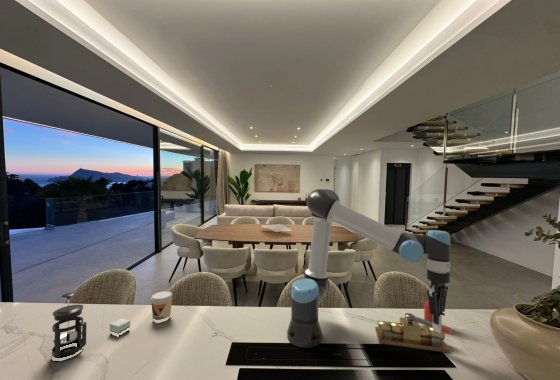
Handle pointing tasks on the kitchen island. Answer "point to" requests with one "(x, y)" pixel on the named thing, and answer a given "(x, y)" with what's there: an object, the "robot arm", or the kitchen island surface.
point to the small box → (119, 325)
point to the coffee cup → (161, 305)
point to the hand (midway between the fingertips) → (437, 331)
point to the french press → (68, 329)
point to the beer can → (427, 312)
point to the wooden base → (410, 335)
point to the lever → (426, 322)
